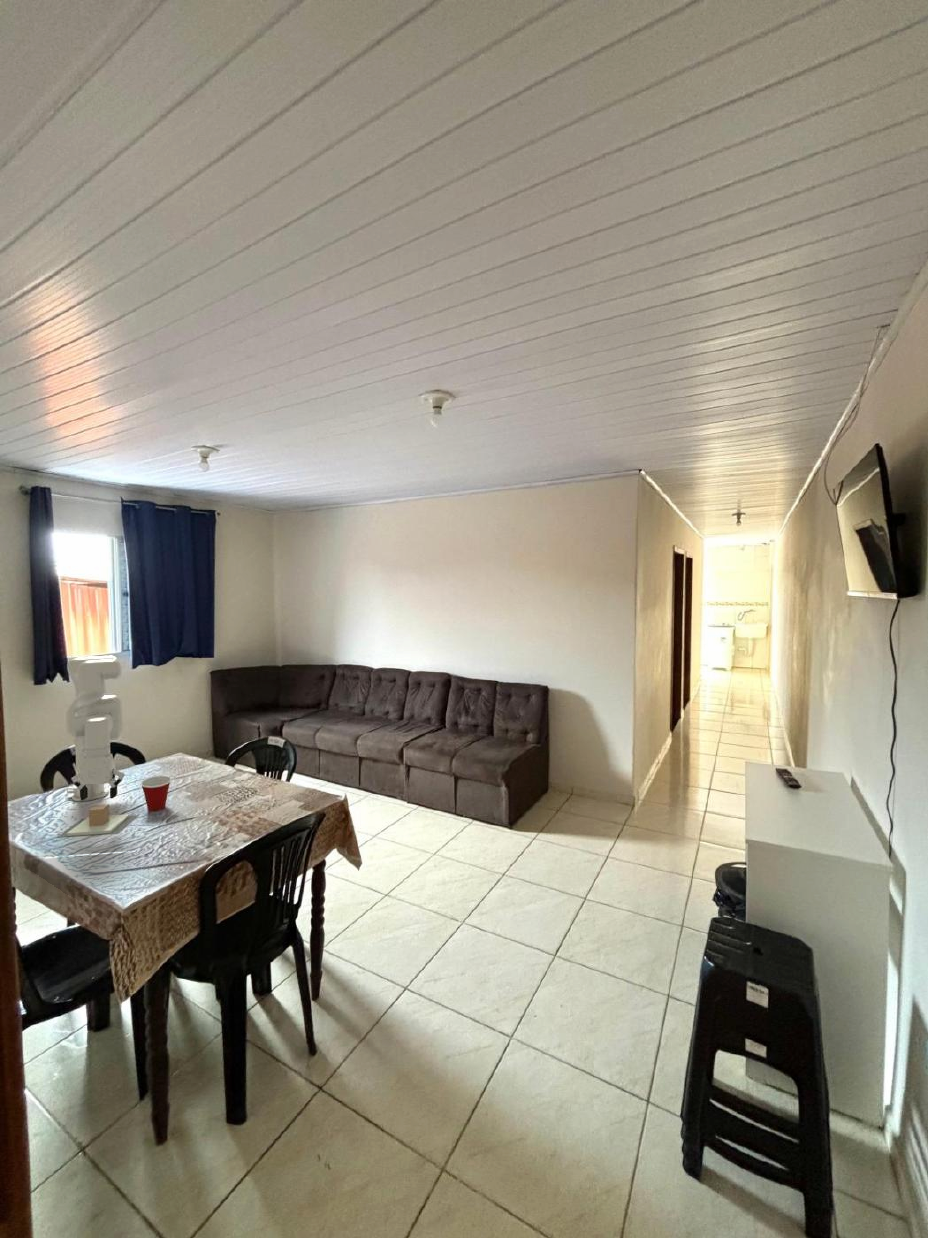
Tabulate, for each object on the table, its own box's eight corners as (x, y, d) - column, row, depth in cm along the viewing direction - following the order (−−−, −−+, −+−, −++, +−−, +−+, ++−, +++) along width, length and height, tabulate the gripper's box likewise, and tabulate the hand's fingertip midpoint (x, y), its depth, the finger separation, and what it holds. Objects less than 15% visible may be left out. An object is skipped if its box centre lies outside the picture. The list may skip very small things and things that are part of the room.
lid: (66, 836, 181) (66, 816, 181) (89, 819, 195) (88, 801, 195) (110, 833, 183) (110, 813, 183) (129, 816, 197) (128, 799, 197)
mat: (55, 839, 180) (55, 837, 180) (81, 820, 196) (81, 818, 195) (118, 835, 183) (118, 833, 183) (138, 816, 199) (138, 815, 199)
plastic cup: (141, 817, 198) (141, 787, 197) (140, 808, 207) (139, 779, 206) (173, 811, 204) (173, 781, 204) (170, 802, 213) (170, 773, 212)
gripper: (65, 756, 183) (66, 803, 183) (118, 753, 186) (119, 800, 186) (77, 750, 190) (78, 796, 191) (128, 747, 193) (129, 793, 194)
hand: (98, 798), depth 188 cm, fingers open, 9 cm apart
